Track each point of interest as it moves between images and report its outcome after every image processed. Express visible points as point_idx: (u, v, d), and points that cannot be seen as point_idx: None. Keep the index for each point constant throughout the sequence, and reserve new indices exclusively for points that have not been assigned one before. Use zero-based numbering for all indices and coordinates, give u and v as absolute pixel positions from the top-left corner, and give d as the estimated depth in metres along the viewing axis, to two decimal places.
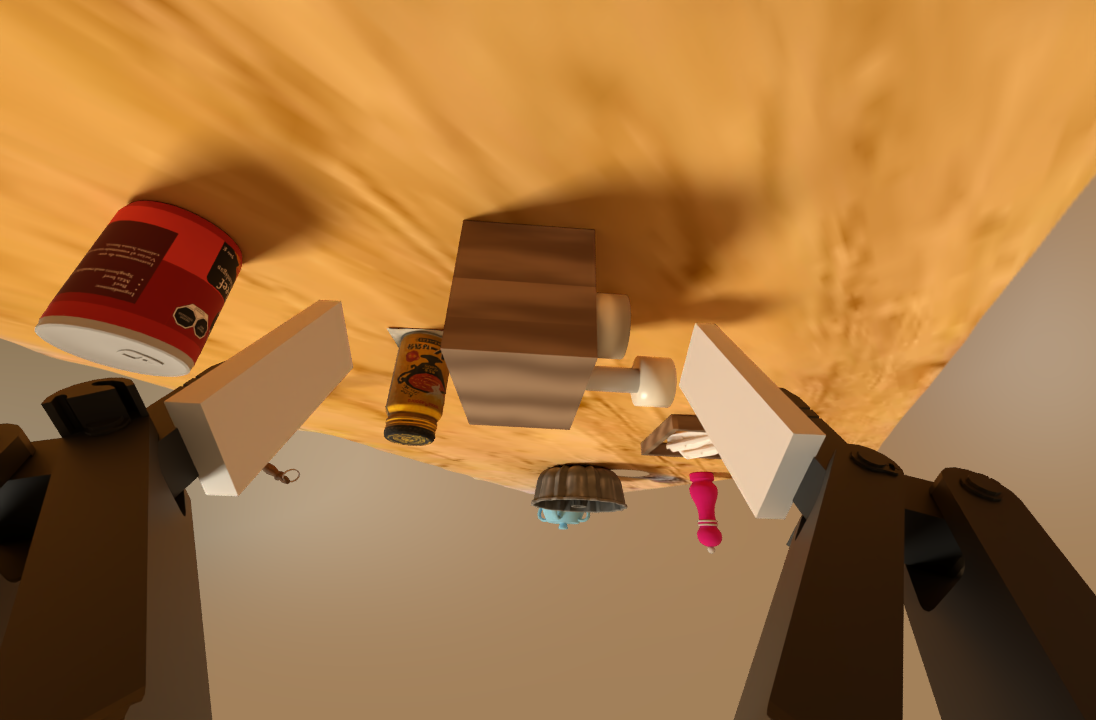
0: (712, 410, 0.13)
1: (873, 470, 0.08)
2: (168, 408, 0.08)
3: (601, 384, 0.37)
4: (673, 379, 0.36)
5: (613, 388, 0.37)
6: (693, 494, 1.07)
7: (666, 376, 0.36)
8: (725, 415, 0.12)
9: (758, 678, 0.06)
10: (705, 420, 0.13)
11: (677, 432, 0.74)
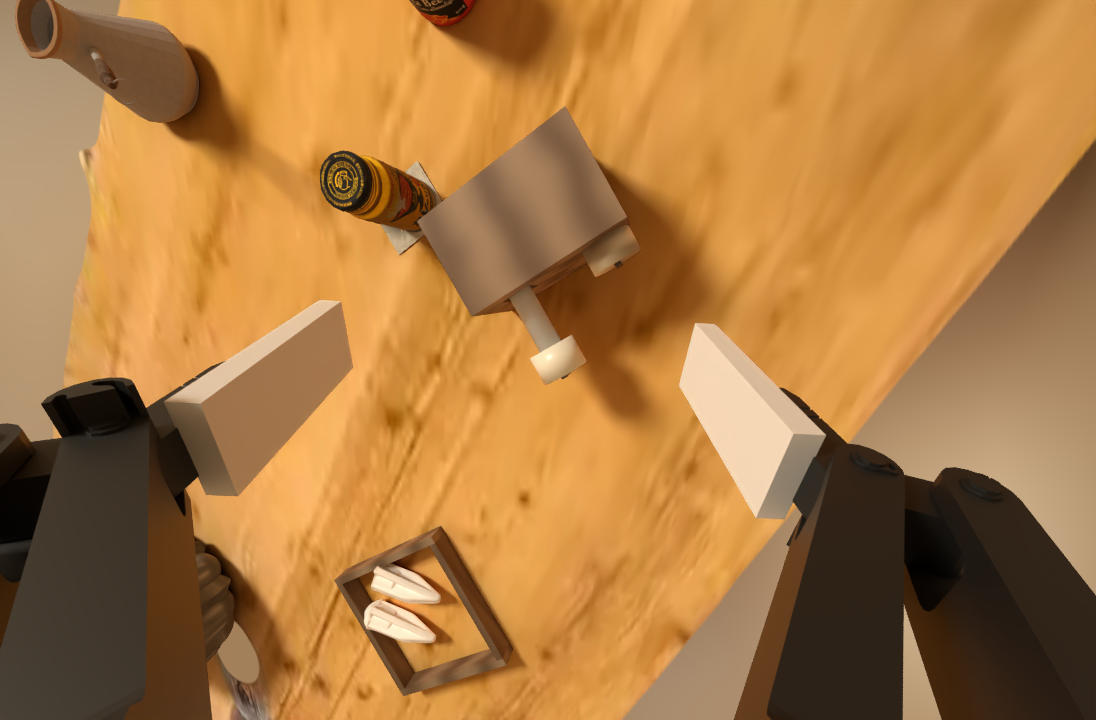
0: (712, 410, 0.13)
1: (874, 470, 0.08)
2: (168, 408, 0.08)
3: (536, 311, 0.38)
4: (583, 360, 0.38)
5: (539, 324, 0.38)
6: None
7: (580, 354, 0.38)
8: (725, 415, 0.12)
9: (758, 678, 0.06)
10: (705, 420, 0.13)
11: (398, 566, 0.57)
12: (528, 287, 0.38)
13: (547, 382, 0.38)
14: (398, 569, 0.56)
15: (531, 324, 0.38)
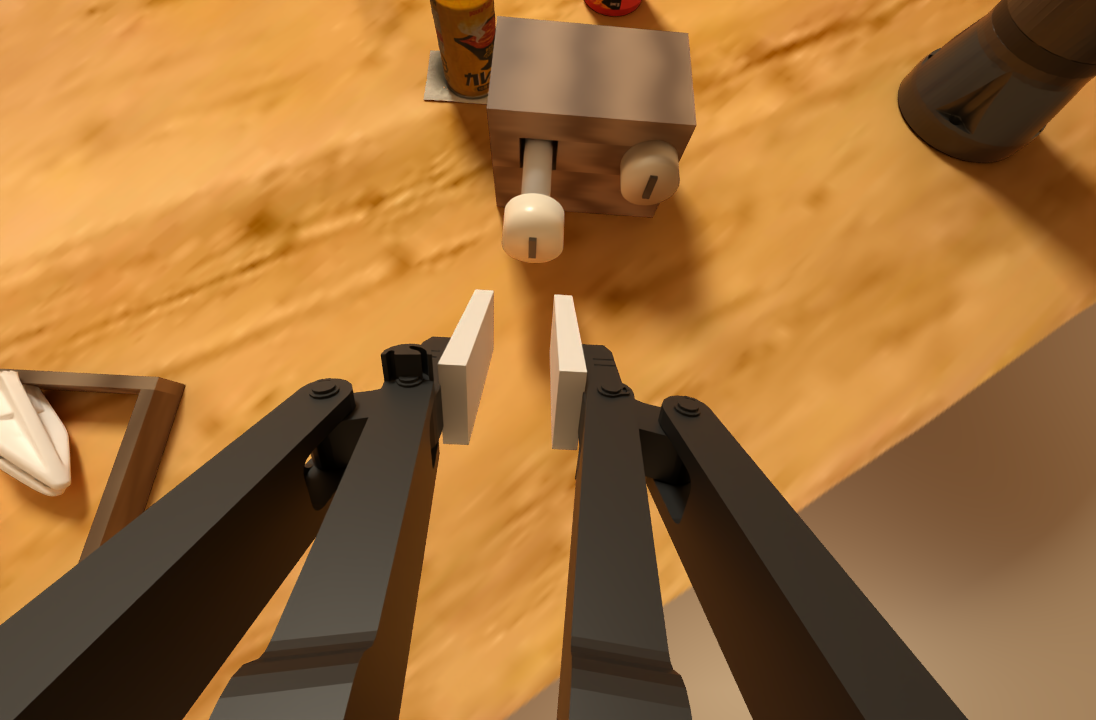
0: (552, 367, 0.15)
1: (614, 397, 0.10)
2: (438, 369, 0.11)
3: (546, 170, 0.32)
4: (562, 240, 0.30)
5: (541, 180, 0.31)
6: None
7: (563, 235, 0.31)
8: (553, 369, 0.14)
9: (568, 613, 0.06)
10: (551, 378, 0.15)
11: None
12: (551, 151, 0.33)
13: (512, 229, 0.29)
14: (44, 406, 0.31)
15: (533, 175, 0.31)
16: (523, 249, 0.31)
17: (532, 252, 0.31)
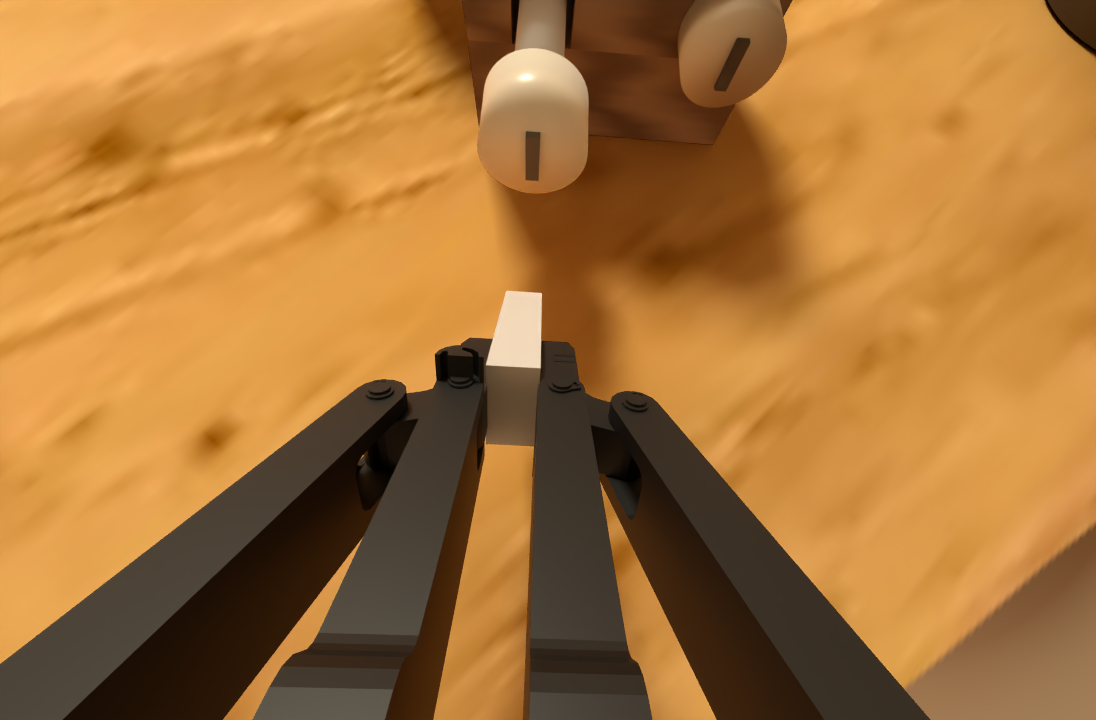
0: None
1: (565, 392, 0.10)
2: (486, 370, 0.11)
3: (557, 28, 0.18)
4: (587, 141, 0.17)
5: (548, 41, 0.18)
6: None
7: (587, 134, 0.17)
8: None
9: (528, 614, 0.06)
10: None
11: None
12: (565, 5, 0.20)
13: (494, 111, 0.16)
14: None
15: (534, 32, 0.18)
16: (516, 162, 0.18)
17: (532, 166, 0.18)
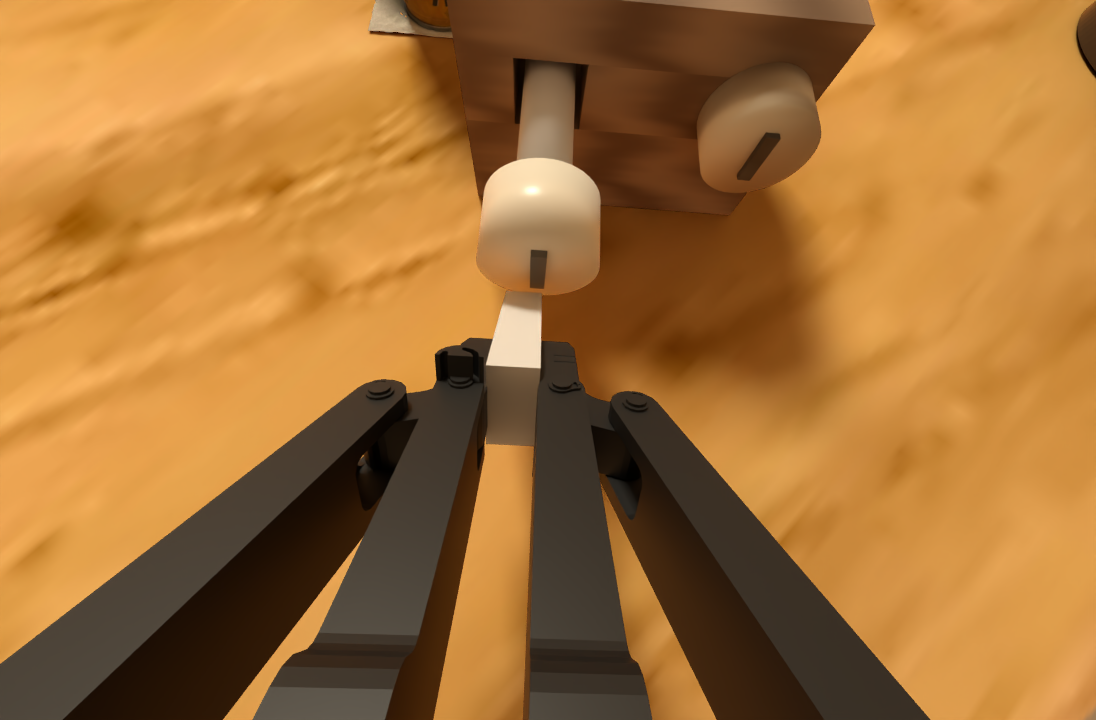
0: None
1: (565, 392, 0.10)
2: (486, 370, 0.11)
3: (566, 118, 0.17)
4: (599, 255, 0.15)
5: (556, 136, 0.16)
6: None
7: (599, 244, 0.15)
8: None
9: (528, 614, 0.06)
10: None
11: None
12: (574, 87, 0.18)
13: (495, 232, 0.14)
14: None
15: (540, 126, 0.16)
16: (520, 272, 0.16)
17: (537, 278, 0.16)
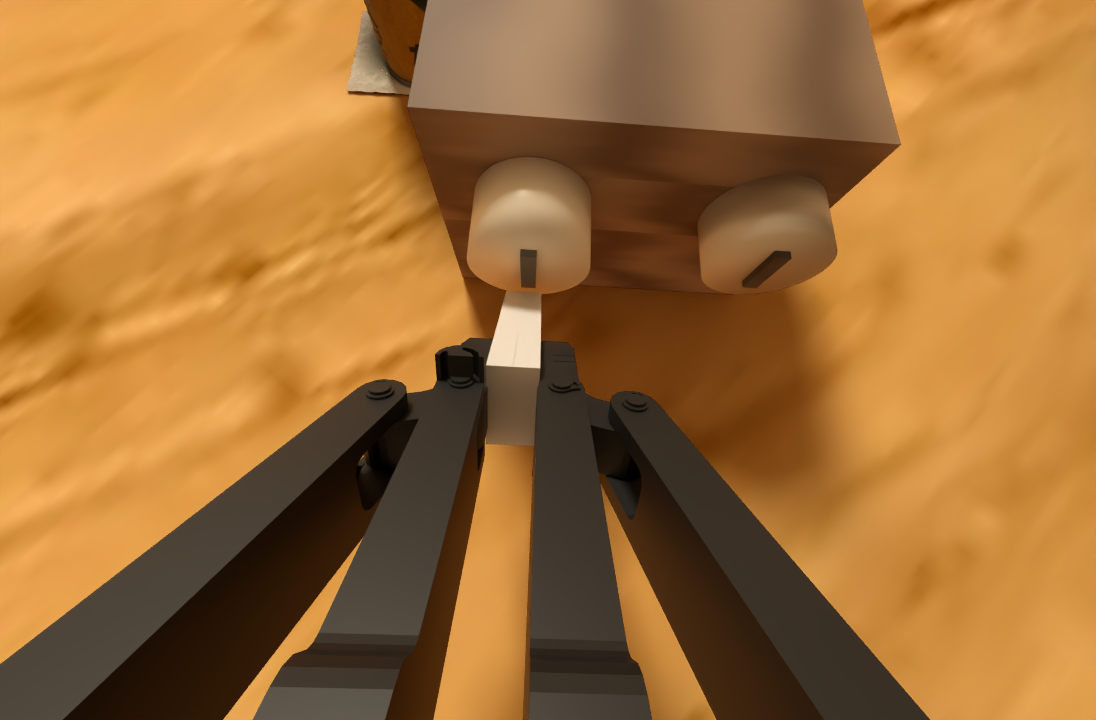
0: None
1: (565, 392, 0.10)
2: (486, 370, 0.11)
3: None
4: (589, 254, 0.15)
5: None
6: None
7: (590, 243, 0.15)
8: None
9: (528, 614, 0.06)
10: None
11: None
12: None
13: (484, 232, 0.14)
14: None
15: None
16: (511, 271, 0.16)
17: (528, 278, 0.16)
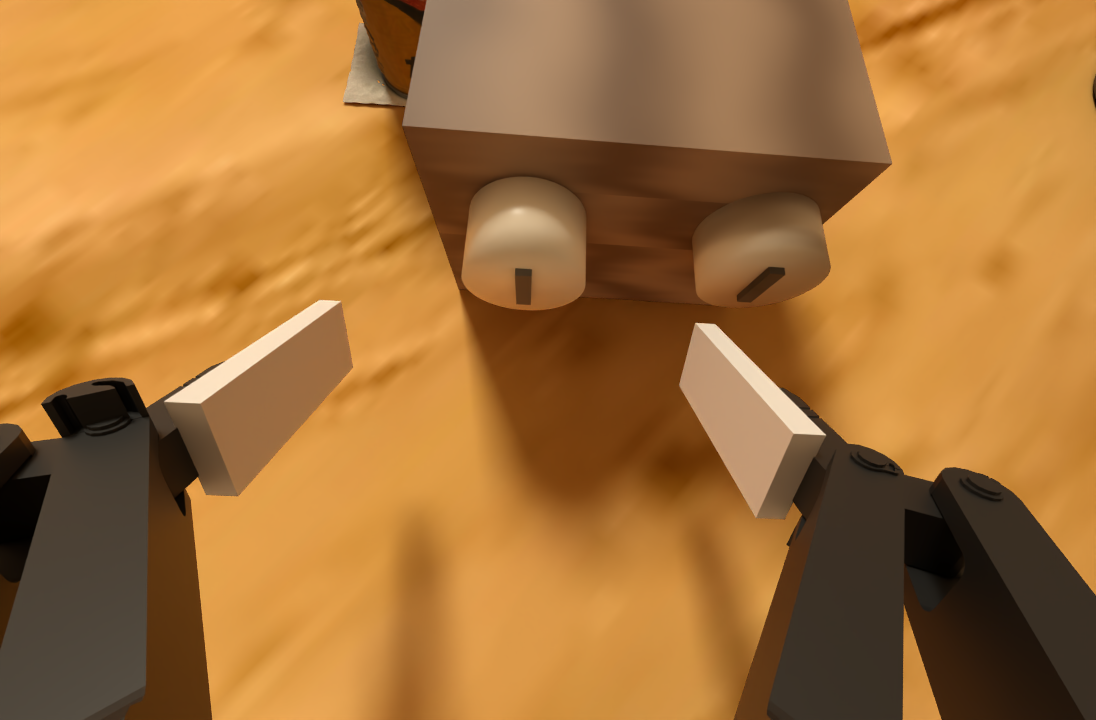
0: (712, 410, 0.13)
1: (873, 470, 0.08)
2: (168, 408, 0.08)
3: None
4: (584, 273, 0.15)
5: None
6: None
7: (585, 261, 0.15)
8: (725, 415, 0.12)
9: (758, 678, 0.06)
10: (705, 420, 0.13)
11: None
12: None
13: (479, 252, 0.14)
14: None
15: None
16: (506, 289, 0.16)
17: (523, 295, 0.16)
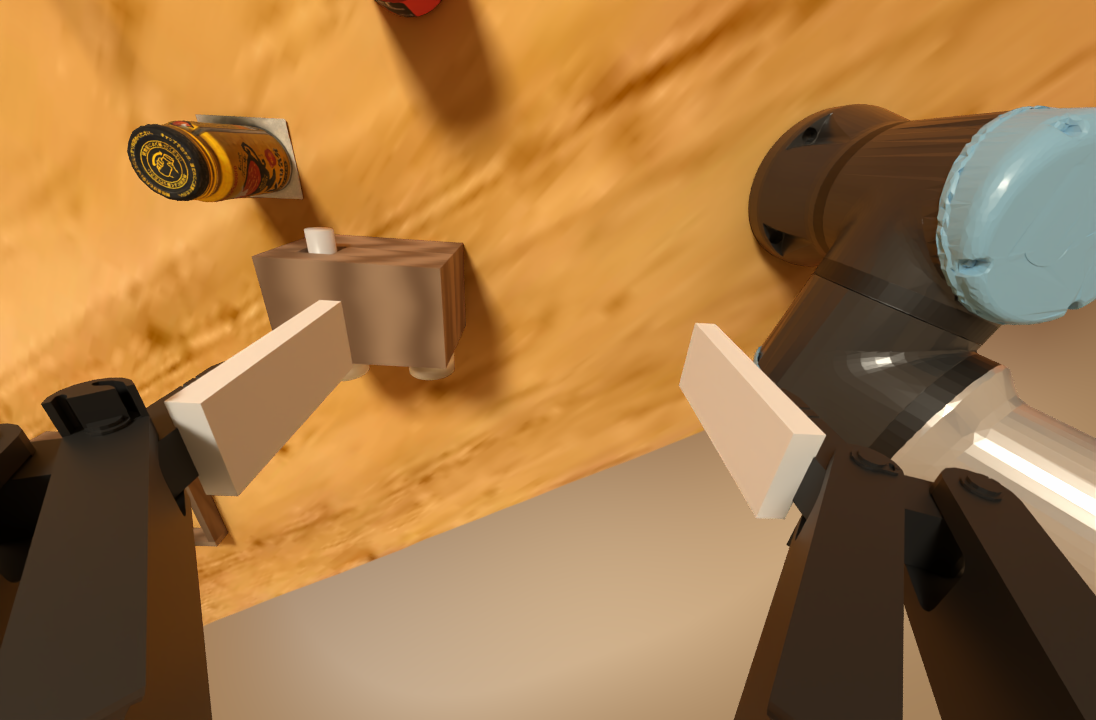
0: (712, 410, 0.13)
1: (874, 470, 0.08)
2: (168, 408, 0.08)
3: None
4: (364, 372, 0.43)
5: None
6: None
7: (364, 366, 0.43)
8: (725, 415, 0.12)
9: (758, 678, 0.06)
10: (705, 420, 0.13)
11: None
12: None
13: None
14: None
15: None
16: None
17: None
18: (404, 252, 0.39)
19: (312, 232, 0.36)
